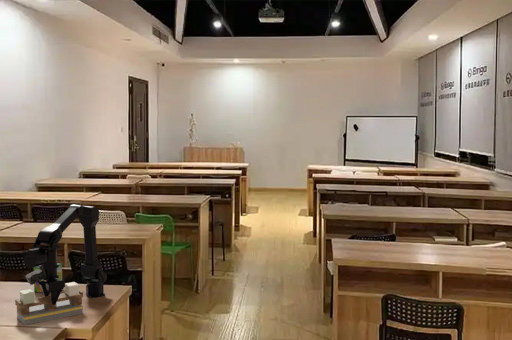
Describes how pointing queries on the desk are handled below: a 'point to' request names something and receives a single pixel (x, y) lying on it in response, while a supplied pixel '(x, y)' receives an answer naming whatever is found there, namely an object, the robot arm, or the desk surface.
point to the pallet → (48, 302)
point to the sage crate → (27, 296)
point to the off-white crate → (71, 289)
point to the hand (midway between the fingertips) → (50, 301)
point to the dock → (50, 312)
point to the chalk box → (59, 271)
